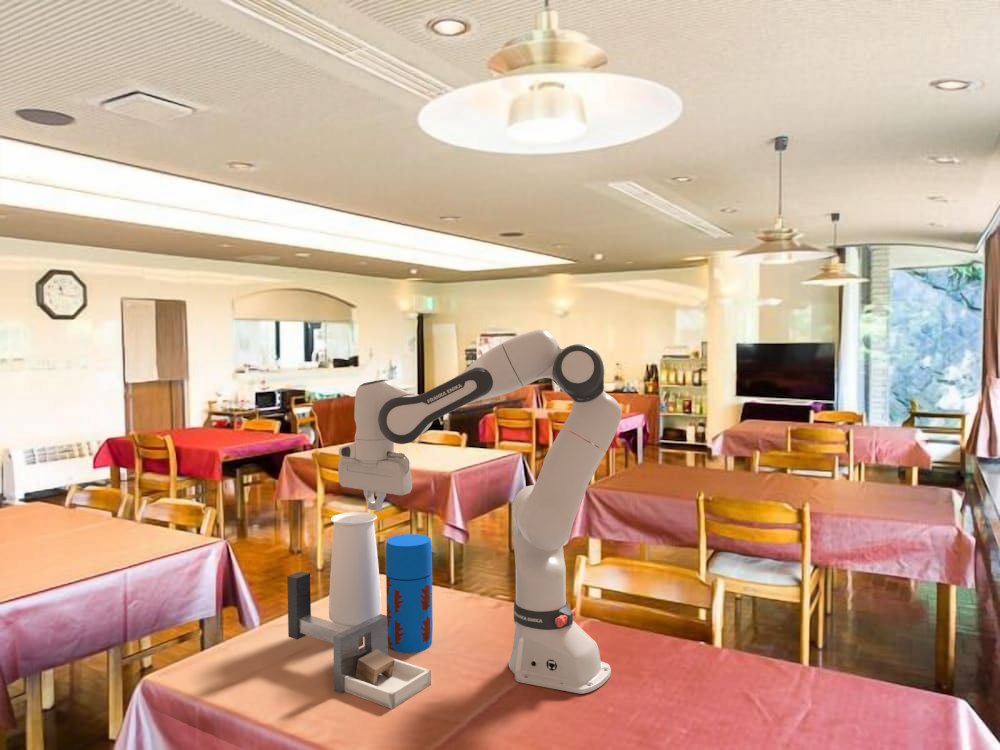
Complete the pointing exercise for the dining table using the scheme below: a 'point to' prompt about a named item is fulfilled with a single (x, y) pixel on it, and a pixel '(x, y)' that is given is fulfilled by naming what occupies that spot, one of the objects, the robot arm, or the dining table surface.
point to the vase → (354, 570)
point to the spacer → (374, 666)
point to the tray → (391, 685)
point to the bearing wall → (357, 647)
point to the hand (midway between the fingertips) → (375, 509)
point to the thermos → (409, 592)
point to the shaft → (308, 612)
